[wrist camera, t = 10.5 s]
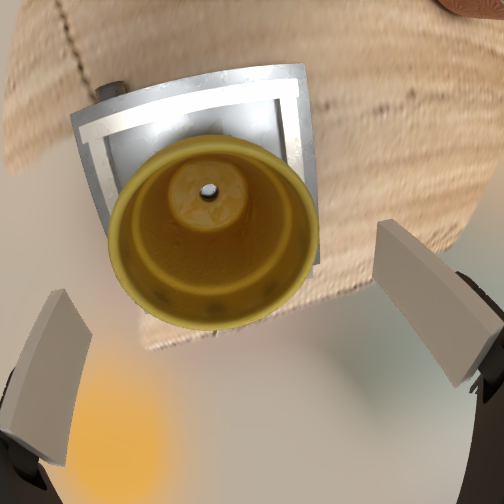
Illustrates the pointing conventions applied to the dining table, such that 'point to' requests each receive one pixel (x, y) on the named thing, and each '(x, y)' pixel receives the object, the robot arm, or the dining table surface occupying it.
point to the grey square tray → (195, 125)
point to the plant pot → (213, 233)
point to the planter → (476, 8)
